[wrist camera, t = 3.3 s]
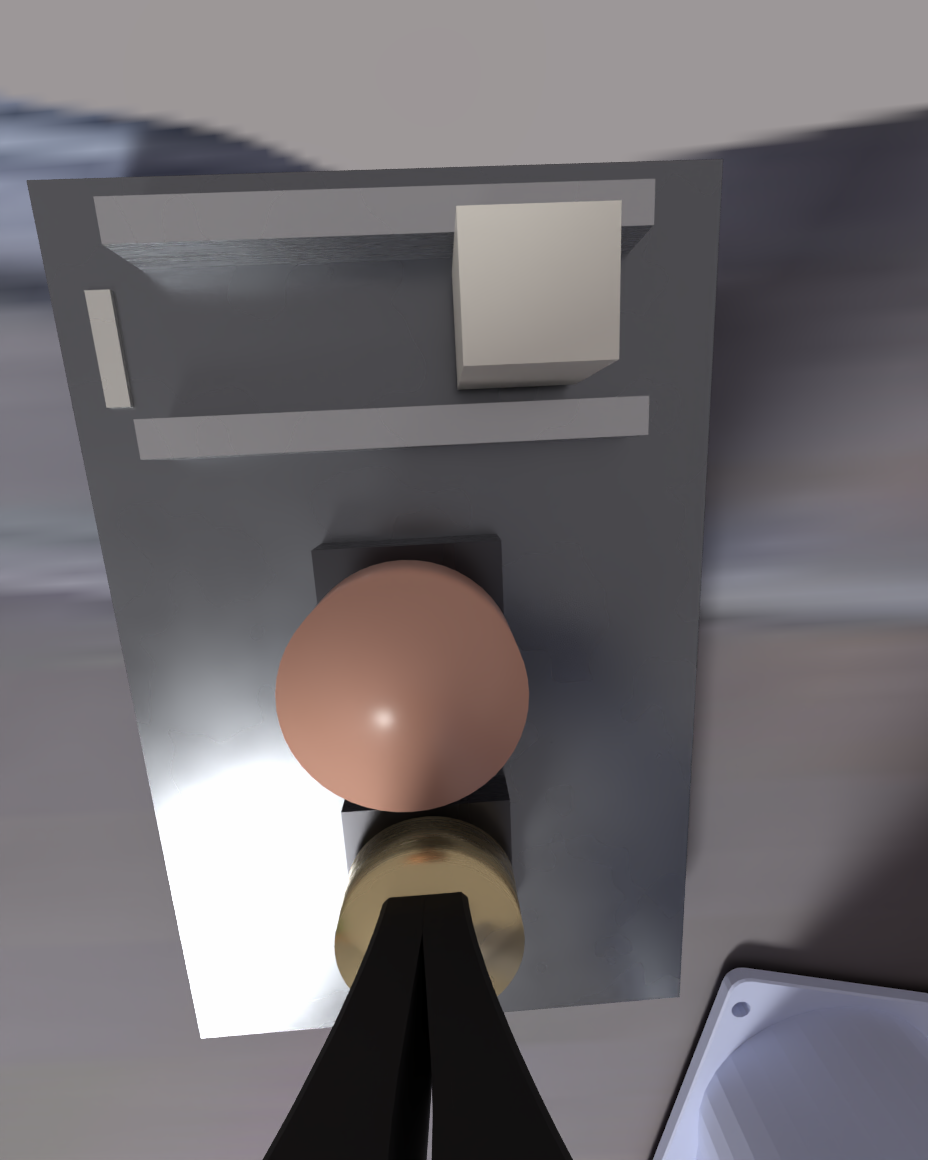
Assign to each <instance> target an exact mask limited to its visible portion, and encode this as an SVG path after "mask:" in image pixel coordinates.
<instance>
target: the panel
mask: <svg viewBox="0 0 928 1160" xmlns="http://www.w3.org/2000/svg"><path fill="white" fill-rule="evenodd" d="M722 169H723V159H709V160H676V161H643V162H611V163H581V164H580V163H579V164H545V165H513V166H479V167H446V168H416V169H382V170H351V171H350V170H348V171H315V172H282V173H249V174H217V175H184V176H151V177H118V178H85V179H53V180H27V185H28V190H29V195H30V200H31V205H32V210H33V215H34V219H35V224H36V229H37V234H38V239H39V244H40V249H41V254H42V259H43V264H44V269H45V273H46V278H47V283H48V288H49V293H50V298H51V303H52V308H53V313H54V318H55V323H56V328H57V332H58V337H59V342H60V347H61V352H62V357H63V362H64V367H65V372H66V377H67V382H68V387H69V391H70V396H71V401H72V406H73V411H74V416H75V421H76V426H77V431H78V436H79V441H80V445H81V450H82V455H83V460H84V465H85V470H86V475H87V480H88V485H89V490H90V495H91V500H92V504H93V509H94V514H95V519H96V524H97V529H98V534H99V539H100V544H101V549H102V554H103V559H104V563H105V568H106V573H107V578H108V583H109V588H110V593H111V598H112V603H113V608H114V613H115V618H116V622H117V627H118V632H119V637H120V642H121V647H122V652H123V657H124V662H125V667H126V672H127V676H128V681H129V686H130V691H131V696H132V701H133V706H134V711H135V716H136V721H137V726H138V731H139V735H140V740H141V745H142V750H143V755H144V760H145V765H146V770H147V775H148V780H149V785H150V790H151V794H152V799H153V804H154V809H155V814H156V819H157V824H158V829H159V834H160V839H161V844H162V848H163V853H164V858H165V863H166V868H167V873H168V878H169V883H170V888H171V893H172V898H173V903H174V907H175V912H176V917H177V922H178V927H179V932H180V937H181V942H182V947H183V952H184V957H185V962H186V966H187V971H188V976H189V981H190V986H191V991H192V996H193V1001H194V1006H195V1011H196V1016H197V1020H198V1025H199V1030H200V1035H201V1038H212V1037H223V1036H235V1035H246V1034H258V1033H269V1032H281V1031H293V1030H304V1029H316V1028H327V1027H333V1025H334V1023H335V1021H336V1019H337V1016H338V1014H339V1012H340V1010H341V1008H342V1006H343V1003H344V1001H345V999H346V997H347V995H348V992H349V990H350V988H349V987H348V986H347V984H346V983H345V981H344V980H343V978H342V976H341V974H340V972H339V969H338V966H337V963H336V958H335V951H334V941H335V933H336V929H337V924H338V920H339V915H340V910H341V906H342V901H343V897H344V892H345V888H346V883H347V879H348V875H349V871H350V868H351V866H352V864H353V861H354V859H355V858H356V856H357V854H358V853H359V851H360V850H361V849H362V848H363V847H364V845H365V844H366V843H367V842H368V841H369V840H370V839H372V838H373V837H374V836H375V835H377V834H378V833H379V832H381V831H382V830H384V829H386V828H388V827H390V826H392V825H394V824H396V823H399V822H402V821H405V820H409V819H412V818H418V817H426V816H439V817H449V818H453V819H458V820H461V821H464V822H467V823H470V824H472V825H474V826H476V827H478V828H480V829H481V830H483V831H484V832H486V833H487V834H489V835H490V836H491V837H492V838H493V839H494V840H496V842H497V843H498V844H499V845H500V846H501V847H502V849H503V850H504V852H505V853H506V855H507V856H508V859H509V861H510V863H511V866H512V869H513V873H514V878H515V883H516V889H517V894H518V900H519V905H520V911H521V916H522V922H523V927H524V936H525V945H524V953H523V958H522V961H521V964H520V966H519V969H518V971H517V973H516V974H515V976H514V978H513V979H512V981H511V982H510V984H509V985H508V986H507V987H506V988H505V989H504V991H503V992H502V993H501V994H500V995H498V996H497V997H498V1000H499V1002H500V1005H501V1007H502V1010H503V1012H512V1011H523V1010H535V1009H546V1008H558V1007H569V1006H581V1005H592V1004H604V1003H615V1002H627V1001H639V1000H650V999H662V998H673V997H679V993H680V974H681V955H682V936H683V917H684V898H685V878H686V859H687V840H688V821H689V802H690V783H691V763H692V744H693V725H694V706H695V687H696V668H697V648H698V629H699V610H700V591H701V572H702V553H703V533H704V514H705V495H706V476H707V457H708V438H709V418H710V399H711V380H712V361H713V342H714V323H715V304H716V284H717V265H718V246H719V227H720V208H721V189H722ZM615 200H622V207H621V272H620V337H619V360H617V361H615V362H614V363H612V364H610V365H608V366H607V367H605V368H603V369H602V370H600V371H598V372H596V373H595V374H593V375H591V376H589V377H588V378H586V379H584V380H582V381H581V382H579V383H577V384H573V385H551V386H529V387H506V388H484V389H462V390H458V388H457V368H456V347H455V326H454V306H453V285H452V261H453V246H454V231H455V216H456V206H464V205H494V204H524V203H555V202H585V201H615ZM397 560H418V561H425V562H432V563H435V564H439V565H443V566H446V567H448V568H450V569H453V570H455V571H458V572H459V573H461V574H463V575H465V576H466V577H468V578H470V579H471V580H473V581H474V582H475V583H476V584H478V585H479V586H480V587H482V588H483V589H484V590H485V591H486V592H487V593H488V594H489V595H490V596H491V598H492V599H493V600H494V601H495V603H496V604H497V605H498V607H499V608H500V610H501V612H502V613H503V615H504V617H505V619H506V621H507V623H508V625H509V628H510V630H511V632H512V635H513V637H514V639H515V642H516V644H517V646H518V649H519V651H520V654H521V656H522V659H523V661H524V665H525V669H526V673H527V677H528V687H529V705H528V713H527V718H526V723H525V726H524V729H523V732H522V735H521V738H520V740H519V742H518V744H517V746H516V748H515V750H514V752H513V753H512V755H511V756H510V758H509V759H508V760H507V762H506V763H505V765H504V766H503V767H502V768H501V769H500V770H499V771H498V773H497V774H496V775H495V776H493V777H492V778H491V779H490V780H489V781H488V782H487V783H486V784H484V785H483V786H482V787H480V788H479V789H477V790H476V791H474V792H473V793H471V794H469V795H467V796H466V797H464V798H462V799H460V800H458V801H455V802H453V803H450V804H447V805H445V806H441V807H437V808H433V809H429V810H423V811H415V812H391V811H381V810H376V809H372V808H367V807H364V806H361V805H358V804H355V803H352V802H350V801H348V800H346V799H343V798H341V797H339V796H337V795H336V794H334V793H332V792H331V791H329V790H328V789H326V788H325V787H323V786H322V785H321V784H320V783H318V782H317V781H316V780H315V779H314V778H312V777H311V776H310V775H309V774H308V773H307V771H306V770H305V769H304V768H303V767H302V766H301V765H300V763H299V762H298V761H297V759H296V758H295V756H294V755H293V754H292V752H291V750H290V748H289V746H288V745H287V743H286V741H285V739H284V736H283V733H282V730H281V728H280V725H279V720H278V716H277V711H276V699H275V690H276V678H277V674H278V669H279V665H280V661H281V659H282V656H283V654H284V651H285V648H286V647H287V645H288V643H289V641H290V639H291V638H292V636H293V634H294V633H295V631H296V630H297V629H298V628H299V626H300V625H301V624H302V622H303V621H304V620H305V619H306V617H307V616H308V615H309V614H310V613H311V612H312V610H313V609H314V608H315V607H316V606H317V605H318V603H319V602H320V601H321V600H322V599H323V598H324V596H325V595H326V594H327V593H328V592H330V591H331V590H332V589H333V588H334V587H335V586H336V585H337V584H339V583H340V582H341V581H343V580H344V579H345V578H347V577H348V576H350V575H352V574H354V573H356V572H357V571H359V570H362V569H364V568H367V567H369V566H372V565H376V564H380V563H384V562H389V561H397Z"/></svg>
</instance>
